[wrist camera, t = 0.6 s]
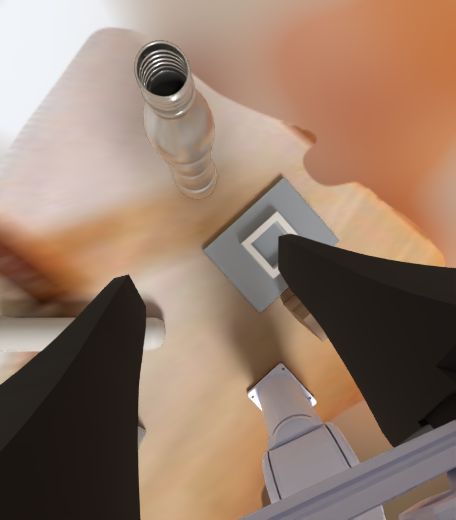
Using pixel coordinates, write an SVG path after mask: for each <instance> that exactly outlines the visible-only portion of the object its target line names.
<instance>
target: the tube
mask: <svg viewBox="0 0 456 520" xmlns="http://www.w3.org/2000/svg"><path fill="white" fill-rule="evenodd" d="M74 319H75V318H12V317H9V316H3V317H0V352H13V351H42V350H43V349H44V348H45V347H46V346H48V345H49V344H50V343H51V342H52V341H53V340H54V339H55V338H56V337H57V336H58V335H59V334H60V333H61V332H62V331H63V330H64V329H65V328H66V327H67V326H68V325H69V324H70V323H71V322H72V321H73V320H74ZM164 336H165V327H164V321H162V320H160V319H158V318H156V317H146V332H145V340H144V348H143V350H154V349H156V348H158V347H160V346H162V343H163V340H164Z"/></svg>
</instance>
